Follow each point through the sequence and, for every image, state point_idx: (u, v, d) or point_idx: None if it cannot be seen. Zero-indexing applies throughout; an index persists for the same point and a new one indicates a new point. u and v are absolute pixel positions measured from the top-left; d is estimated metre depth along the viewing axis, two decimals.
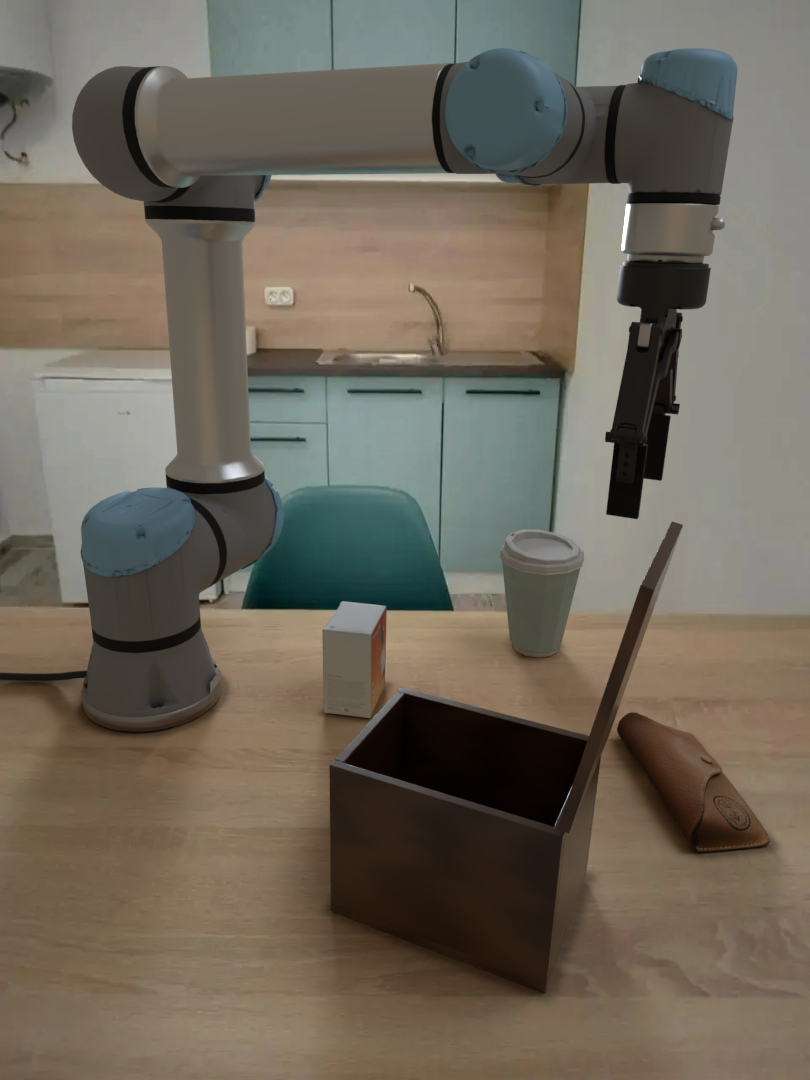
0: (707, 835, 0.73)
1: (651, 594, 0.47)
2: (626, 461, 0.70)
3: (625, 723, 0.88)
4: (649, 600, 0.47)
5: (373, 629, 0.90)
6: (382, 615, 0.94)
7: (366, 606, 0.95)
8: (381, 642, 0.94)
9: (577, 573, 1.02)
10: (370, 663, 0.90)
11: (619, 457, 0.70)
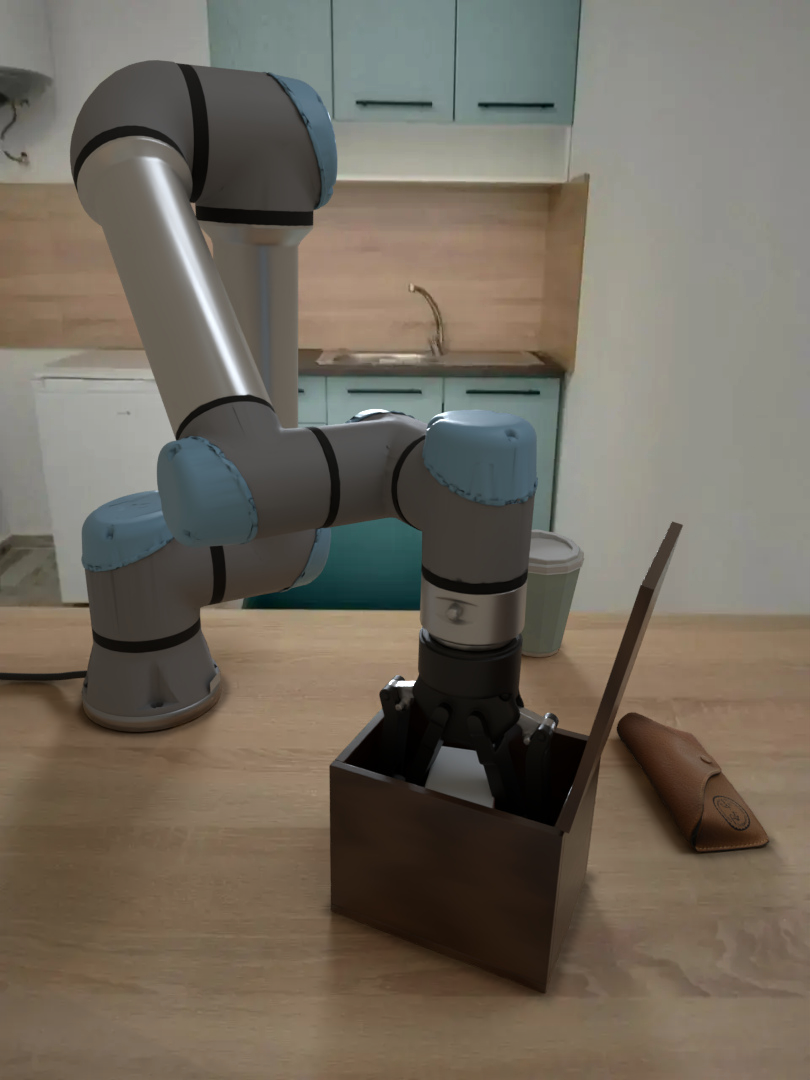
0: (706, 835, 0.73)
1: (651, 594, 0.47)
2: None
3: (625, 723, 0.88)
4: (649, 600, 0.47)
5: (492, 802, 0.62)
6: None
7: (473, 756, 0.67)
8: None
9: (577, 573, 1.02)
10: None
11: None
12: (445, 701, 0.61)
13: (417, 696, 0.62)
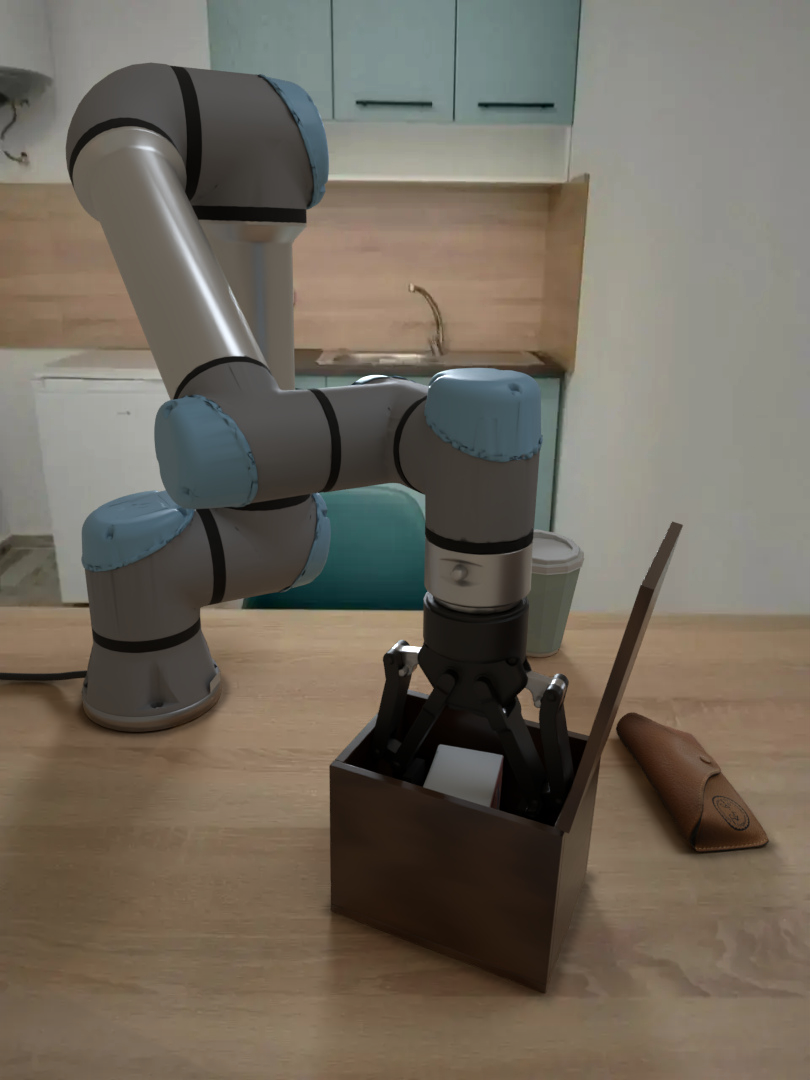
0: (706, 835, 0.73)
1: (651, 594, 0.47)
2: None
3: (624, 723, 0.88)
4: (649, 600, 0.47)
5: (490, 802, 0.62)
6: (499, 773, 0.65)
7: (475, 755, 0.67)
8: None
9: (577, 573, 1.02)
10: None
11: None
12: (452, 668, 0.60)
13: (422, 663, 0.61)
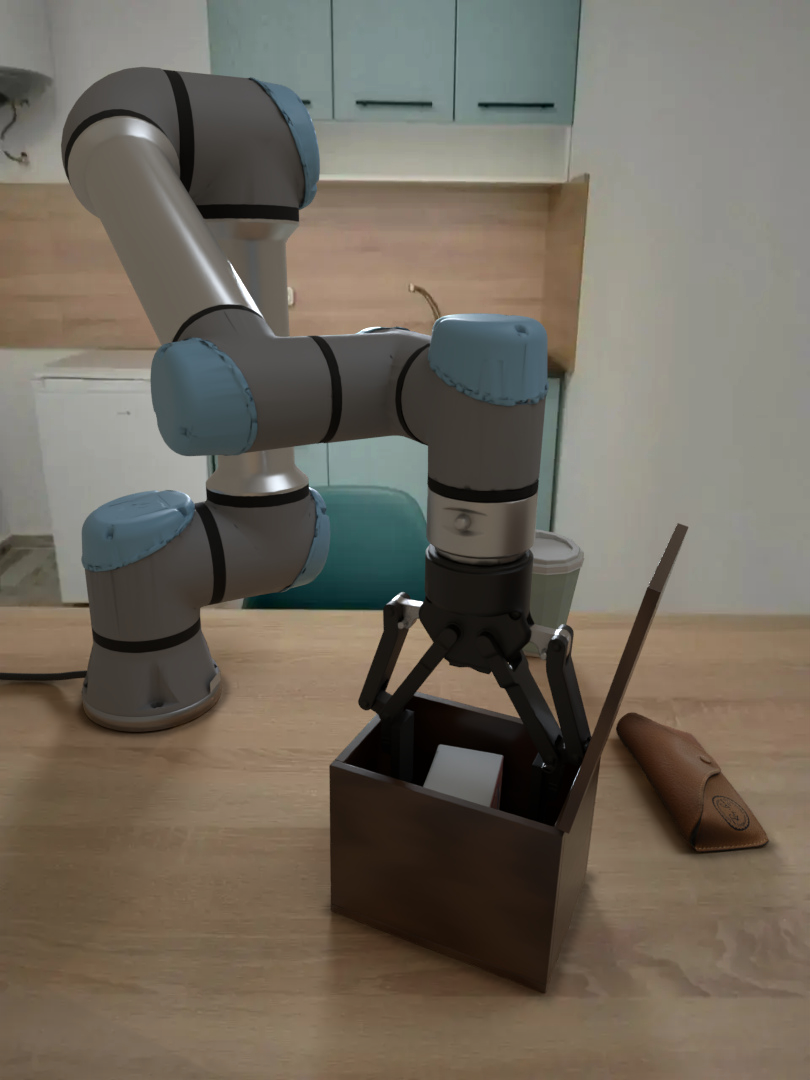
0: (706, 835, 0.73)
1: (658, 596, 0.47)
2: None
3: (624, 723, 0.88)
4: (655, 602, 0.47)
5: (490, 802, 0.62)
6: (499, 773, 0.65)
7: (475, 755, 0.67)
8: None
9: (577, 573, 1.02)
10: None
11: None
12: (455, 624, 0.59)
13: (423, 618, 0.60)
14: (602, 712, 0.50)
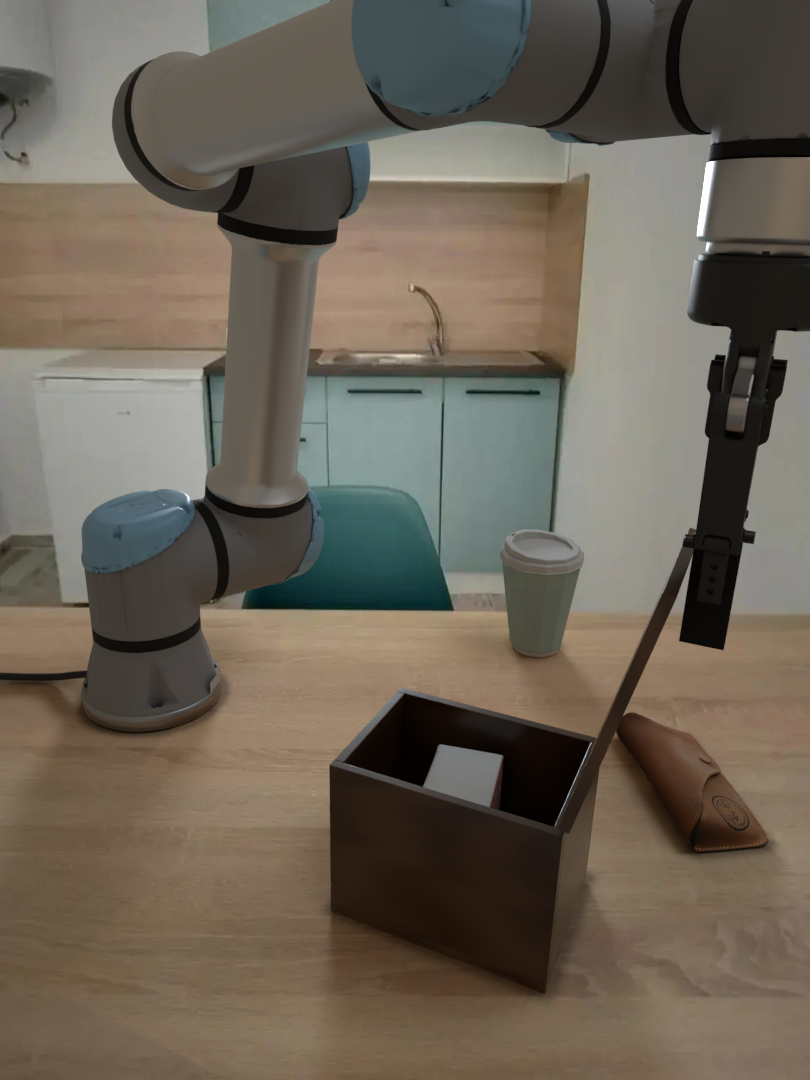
0: (705, 835, 0.73)
1: (672, 603, 0.46)
2: (712, 575, 0.50)
3: (624, 723, 0.88)
4: (670, 608, 0.47)
5: (490, 802, 0.62)
6: (499, 773, 0.65)
7: (475, 755, 0.67)
8: None
9: (577, 573, 1.02)
10: None
11: (702, 569, 0.50)
12: (772, 363, 0.45)
13: (767, 375, 0.43)
14: (609, 715, 0.50)
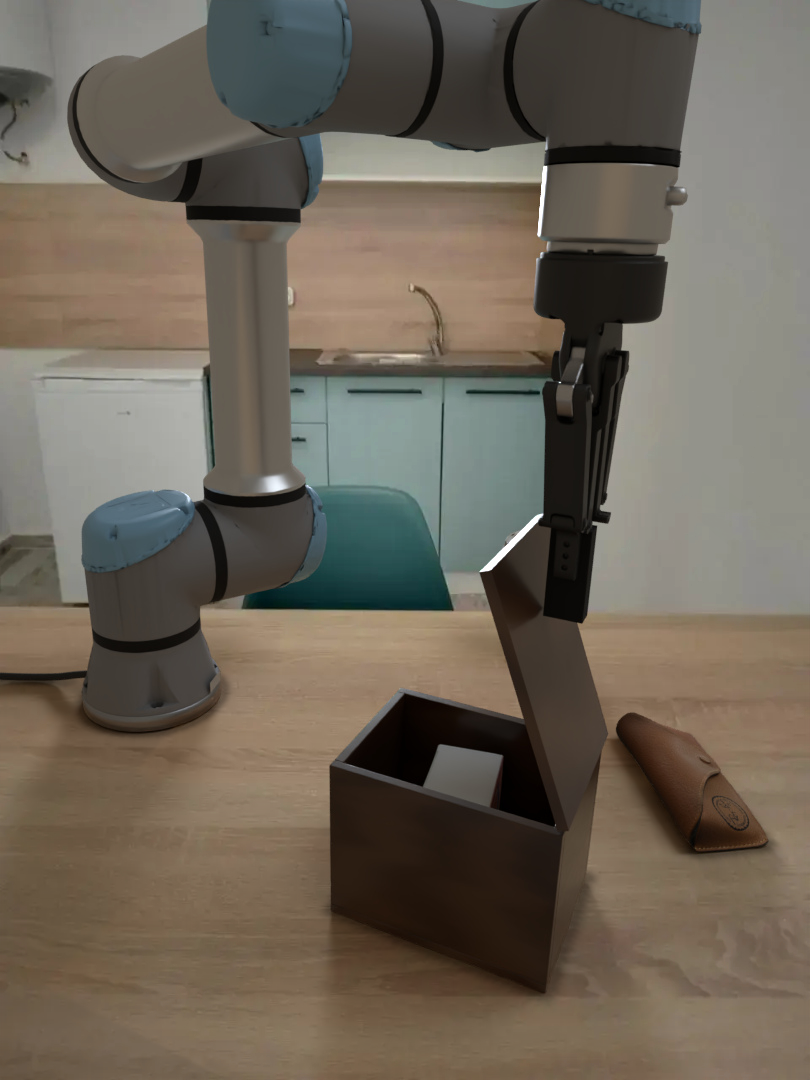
0: (705, 835, 0.73)
1: (491, 575, 0.51)
2: (566, 552, 0.53)
3: (624, 723, 0.88)
4: (493, 581, 0.51)
5: (490, 802, 0.62)
6: (499, 773, 0.65)
7: (475, 755, 0.67)
8: None
9: None
10: None
11: (556, 547, 0.53)
12: (607, 353, 0.48)
13: (597, 365, 0.47)
14: (519, 700, 0.53)
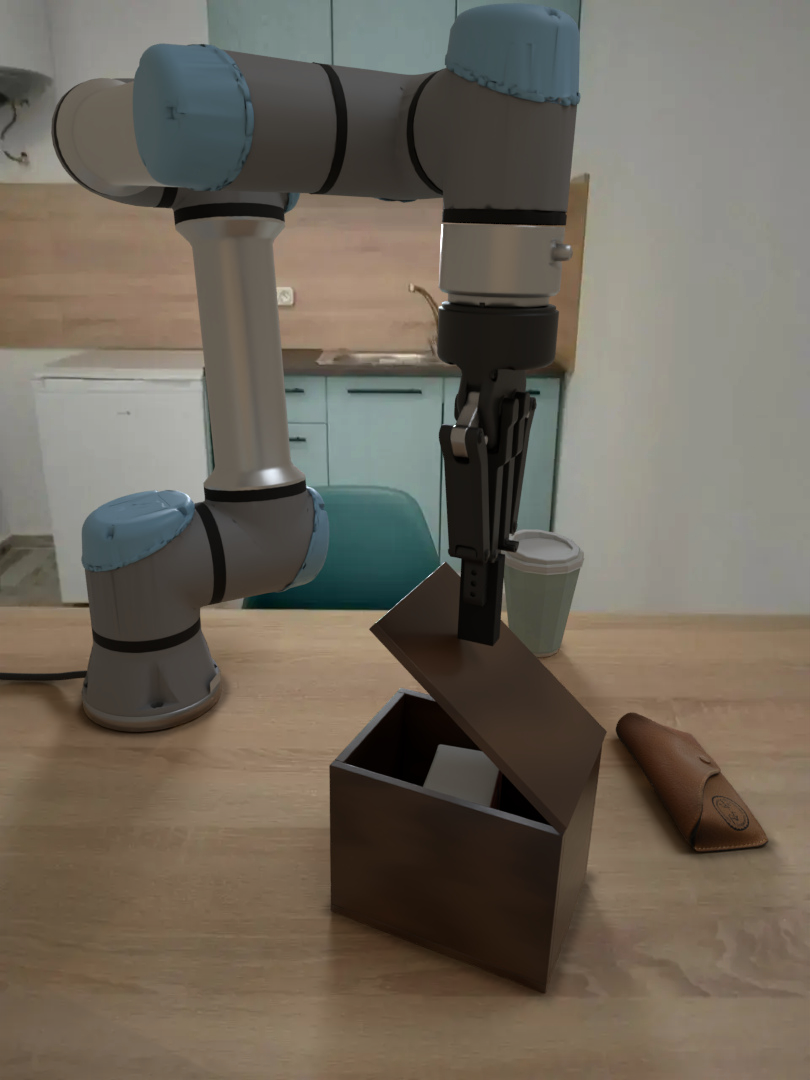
0: (705, 835, 0.73)
1: (378, 627, 0.55)
2: (473, 580, 0.56)
3: (624, 723, 0.88)
4: (382, 631, 0.55)
5: (490, 802, 0.62)
6: (499, 772, 0.65)
7: (475, 755, 0.67)
8: None
9: (577, 573, 1.02)
10: None
11: (465, 575, 0.57)
12: (504, 397, 0.52)
13: (491, 408, 0.50)
14: (459, 725, 0.55)
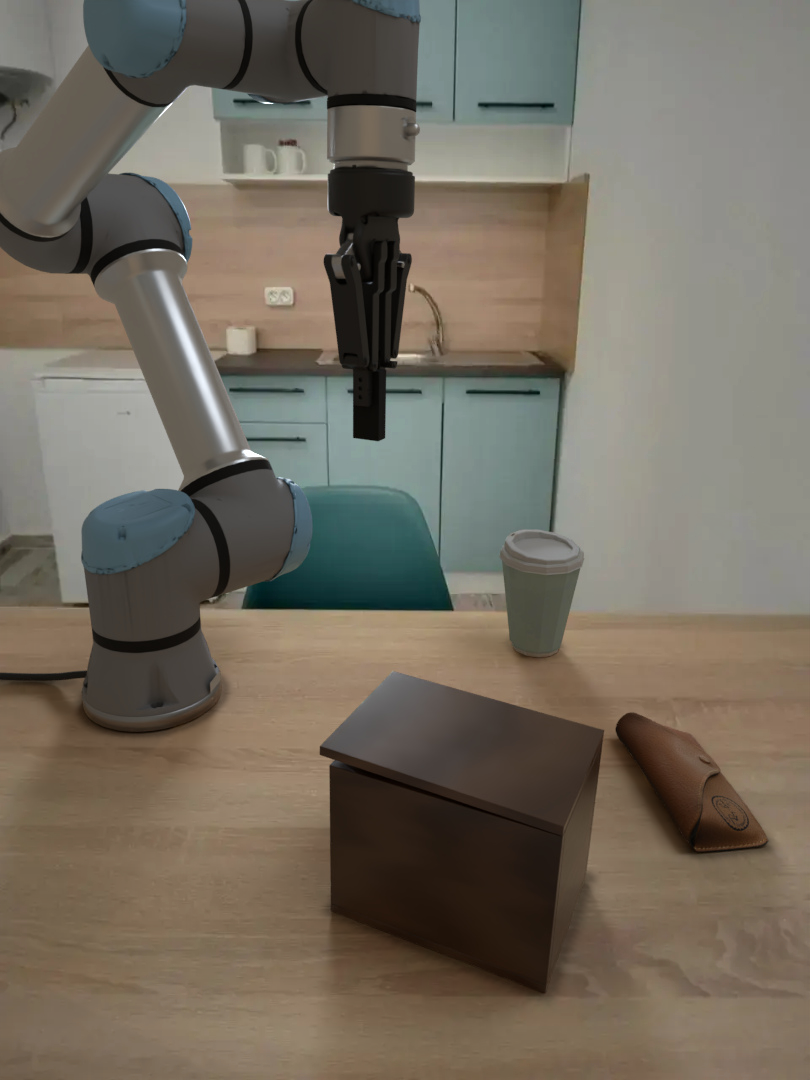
0: (705, 835, 0.73)
1: (323, 748, 0.61)
2: (360, 385, 0.76)
3: (624, 723, 0.88)
4: (328, 749, 0.61)
5: None
6: None
7: None
8: None
9: (577, 573, 1.02)
10: None
11: (354, 382, 0.76)
12: (375, 239, 0.71)
13: (363, 244, 0.70)
14: (428, 790, 0.58)
